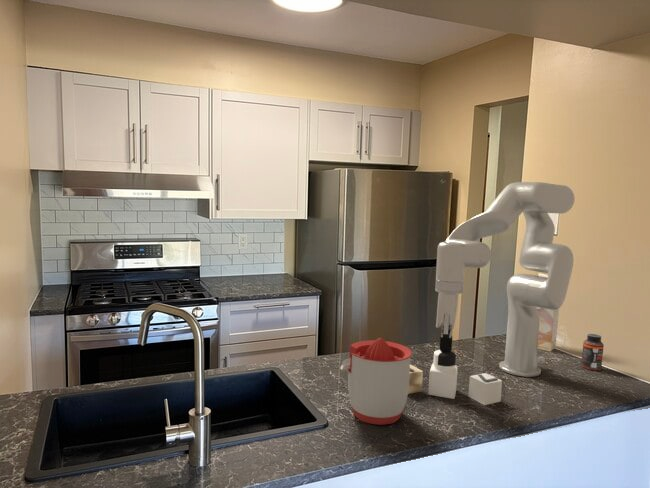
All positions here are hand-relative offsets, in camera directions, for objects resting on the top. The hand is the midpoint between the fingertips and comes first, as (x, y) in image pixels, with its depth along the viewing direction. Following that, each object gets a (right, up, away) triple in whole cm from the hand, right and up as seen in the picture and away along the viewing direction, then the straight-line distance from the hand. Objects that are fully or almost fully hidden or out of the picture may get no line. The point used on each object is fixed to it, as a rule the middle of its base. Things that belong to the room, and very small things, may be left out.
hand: (445, 350), depth 134 cm
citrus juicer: (-22, -13, -14) cm, 29 cm away
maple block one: (-11, -12, +3) cm, 16 cm away
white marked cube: (+10, -13, -2) cm, 17 cm away
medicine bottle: (-1, -12, +1) cm, 13 cm away
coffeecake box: (+46, -9, +49) cm, 68 cm away
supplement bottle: (+55, -12, +26) cm, 62 cm away
